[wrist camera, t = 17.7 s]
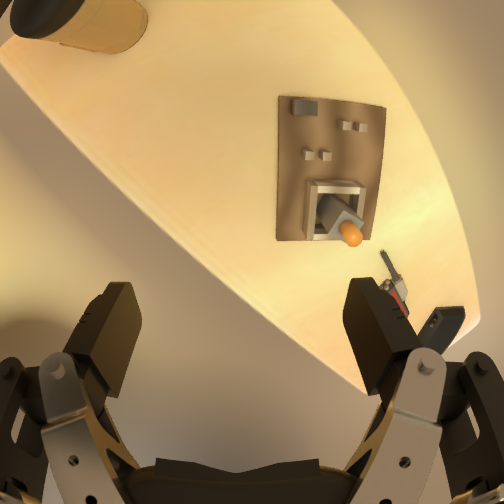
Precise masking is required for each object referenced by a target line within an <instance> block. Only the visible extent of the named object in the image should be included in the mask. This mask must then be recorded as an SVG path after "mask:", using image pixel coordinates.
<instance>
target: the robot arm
mask: <svg viewBox="0 0 504 504" xmlns="http://www.w3.org/2000/svg"><path fill="white" fill-rule="evenodd" d="M11 1H12V0H0V18H1V16H2V14H3V13H4V12H5V10H6V8H7V7H8V6H9V4H10V3H11ZM147 21H148V19H147V13H146V11H145V9H144V8H143V7H142V6H141V5H139V4H138V3H137V2H136V1H135V0H14V2H13V5H12V8H11V13H10V25H11V28H12V30H13V31H14V33H15V34H16V35H18V36H20V37H24V38H31V39H40V40H47V41H54V42H59V43H60V45H64V46H69V47H74V48H79V49H83V50H88V51H92V52H95V51H99V52H103V53H107V54H116V53H120V52H122V51H125V50H127V49H128V48H130V47H131V46H133V45H134V44H135V43H136V42H137V41H138V40H139V39H140V38H141V36H142V35H143V33H144V31H145V29H146V26H147ZM343 324H344V328H345V330H346V333H347V336H348V338H349V341H350V344H351V347H352V349H353V352H354V355H355V358H356V361H357V364H358V366H359V369H360V372H361V375H362V378H363V381H364V384H365V387H366V390H367V393H368V396H371V395H376V394H380V397H381V401H380V403H379V405H378V407H377V409H376V412H375V414H374V416H373V418H372V420H371V423H370V425H369V427H368V429H367V431H366V433H365V435H364V437H363V440H362V441H361V443H360V445H359V447H358V449H357V450H356V451H355V453H354V454H353V456H352V457H351V459H350V460H349V462H348V463H347V465H346V467H345V468H344V470H343V471H342V470H339V469H335V468H331V467H325V466H319V459H312V460H303V461H294V462H283V463H277V464H273V465H269V466H266V467H262V468H258V469H254V470H250V471H246V472H242V473H231V472H227V471H223V470H219V469H215V468H211V467H208V466H204V465H201V464H198V463H195V462H185V461H176V460H168V459H161V458H156V464H155V466H148V467H143V468H141V467H140V466H139V464H138V463H137V461H136V460H135V459H134V457H133V456H132V455H131V454H130V452H129V451H128V449H127V448H126V446H125V444H124V443H123V441H122V439H121V436H120V435H119V432H118V430H117V428H116V426H115V424H114V422H113V420H112V417H111V415H110V413H109V411H108V408H107V406H106V405H105V400H106V397H107V396H109V397H114V398H118V396H119V393H120V389H121V386H122V383H123V380H124V377H125V374H126V370H127V367H128V364H129V361H130V358H131V355H132V353H133V350H134V347H135V344H136V341H137V338H138V335H139V333H140V330H141V326H142V317H141V312H140V309H139V306H138V303H137V300H136V296H135V293H134V290H133V287H132V285H131V283H130V282H110V283H109V284H108V286H107V287H106V289H105V291H104V293H103V294H102V295H98V296H97V297H96V298H95V299H94V300H92V301H91V302H90V303H89V305H88V307H87V308H86V310H85V312H84V315H82V317H81V319H80V320H79V323H78V324H77V325H76V327H75V329H74V331H73V333H72V335H71V336H70V338H69V340H68V342H67V344H66V346H65V348H64V349H63V351H62V352H57V353H54V354H51V355H50V356H48V357H47V358H46V359H45V360H44V361H43V362H42V364H41V365H40V366H38V367H28V368H25V367H24V366H23V364H22V363H21V362H20V361H19V359H17V358H15V357H9V358H6V359H5V360H3V361H2V362H1V363H0V504H42V496H43V490H44V483H45V478H46V473H47V468H48V463H49V464H50V467H51V470H52V473H53V476H54V479H55V481H56V484H57V487H58V489H59V492H60V494H61V497H62V499H63V501H64V504H418V501H419V499H420V497H421V494H422V492H423V490H424V487H425V484H426V482H427V479H428V476H429V474H430V471H431V468H432V465H433V462H434V459H435V456H436V453H437V449H438V446H439V447H440V451H441V454H442V458H443V462H444V466H445V470H446V474H447V478H448V483H449V487H450V492H451V497H452V501H451V503H450V504H504V381H503V379H502V377H501V375H500V373H499V371H498V369H497V367H496V365H495V364H494V362H493V360H492V359H491V358H490V357H489V356H488V355H486V354H484V353H482V352H472V353H470V354H469V355H468V357H467V358H466V359H465V361H464V362H463V363H462V362H445V361H444V359H443V358H442V356H441V355H440V354H439V353H437V352H436V351H434V350H432V349H429V348H424V347H423V345H422V344H421V342H420V340H419V338H418V336H417V335H416V333H415V331H414V329H413V328H412V326H411V324H410V323H409V321H408V319H407V318H406V317H405V314H404V312H403V311H402V310H401V308H400V306H399V304H398V303H397V301H396V299H395V298H394V297H393V296H392V295H390V294H389V293H388V292H387V291H385V290H380V289H379V287H378V285H377V284H376V282H375V280H374V279H373V278H372V277H365V278H352V279H351V281H350V284H349V288H348V293H347V297H346V301H345V305H344V309H343ZM470 406H471V408H472V410H473V413H474V416H475V418H476V421H477V423H478V426H479V430H480V434H479V438H478V440H477V437H476V434H475V431H474V428H473V426H472V423H471V420H470V418H469V415H468V412H467V409H468V408H469V407H470ZM19 408H20V409H21V410H22V411H23V412H24V413H25V416H24V419H23V422H22V426H21V428H20V432H19V435H18V438H17V442H16V444H15V443H14V442H13V440H12V437H11V430H12V427H13V423H14V421H15V417H16V414H17V412H18V409H19Z"/></svg>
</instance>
